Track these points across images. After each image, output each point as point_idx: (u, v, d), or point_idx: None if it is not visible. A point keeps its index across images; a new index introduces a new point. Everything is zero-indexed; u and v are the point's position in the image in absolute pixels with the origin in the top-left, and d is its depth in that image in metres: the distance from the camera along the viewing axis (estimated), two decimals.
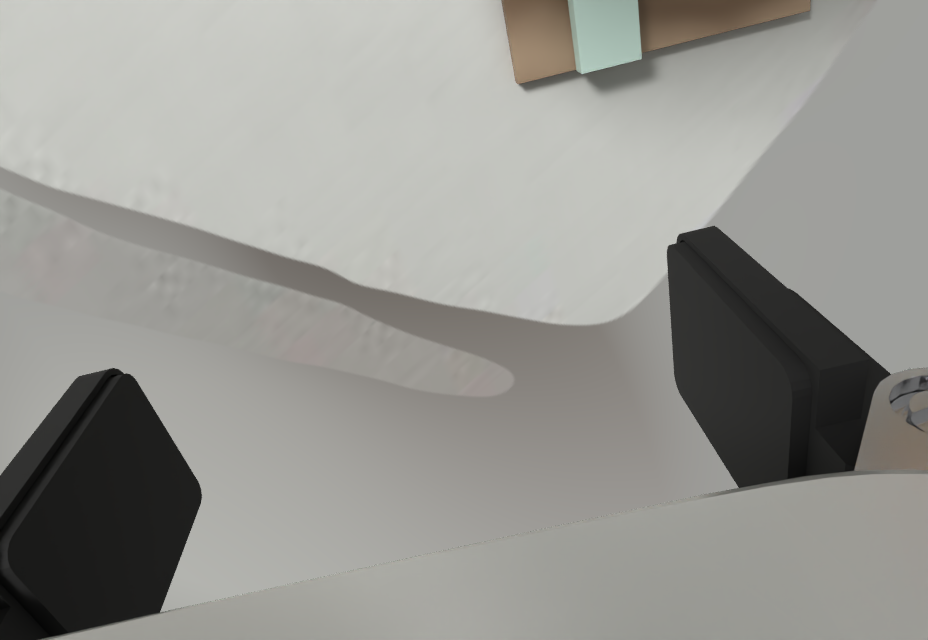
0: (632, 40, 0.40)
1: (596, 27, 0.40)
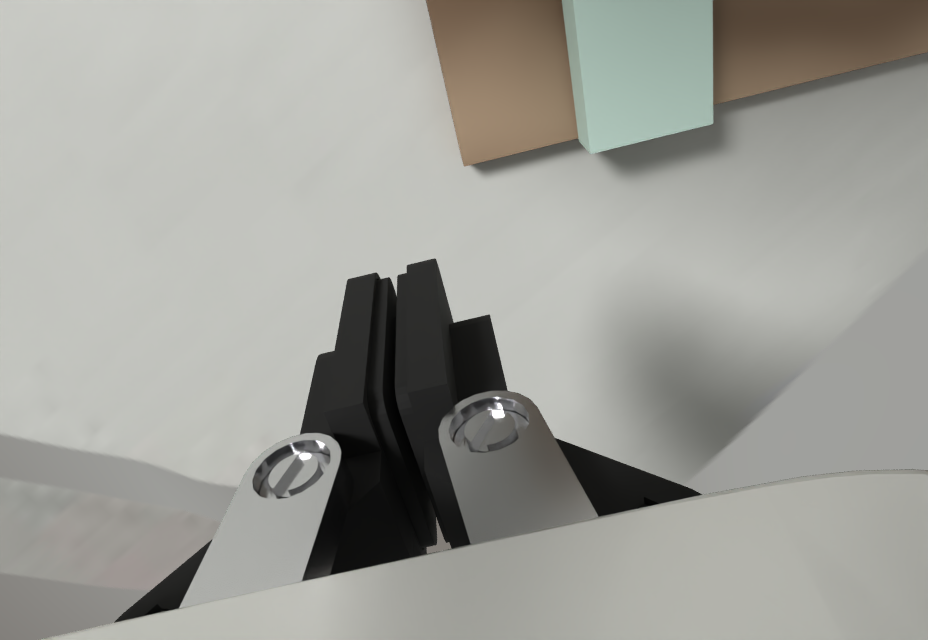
0: (697, 87, 0.19)
1: (623, 62, 0.19)
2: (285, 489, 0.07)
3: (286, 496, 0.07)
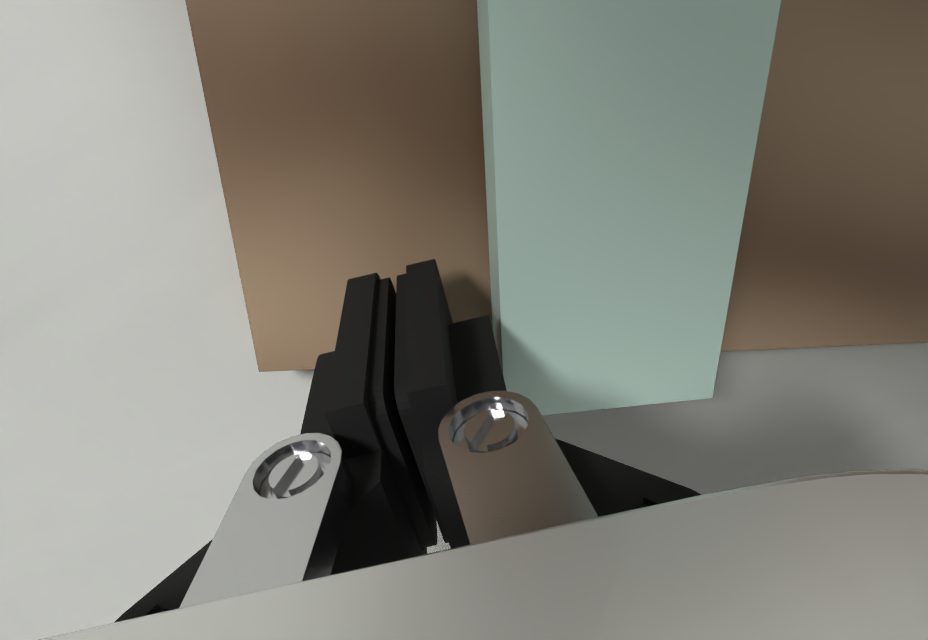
0: (694, 345, 0.11)
1: (575, 294, 0.11)
2: (285, 489, 0.07)
3: (286, 496, 0.07)
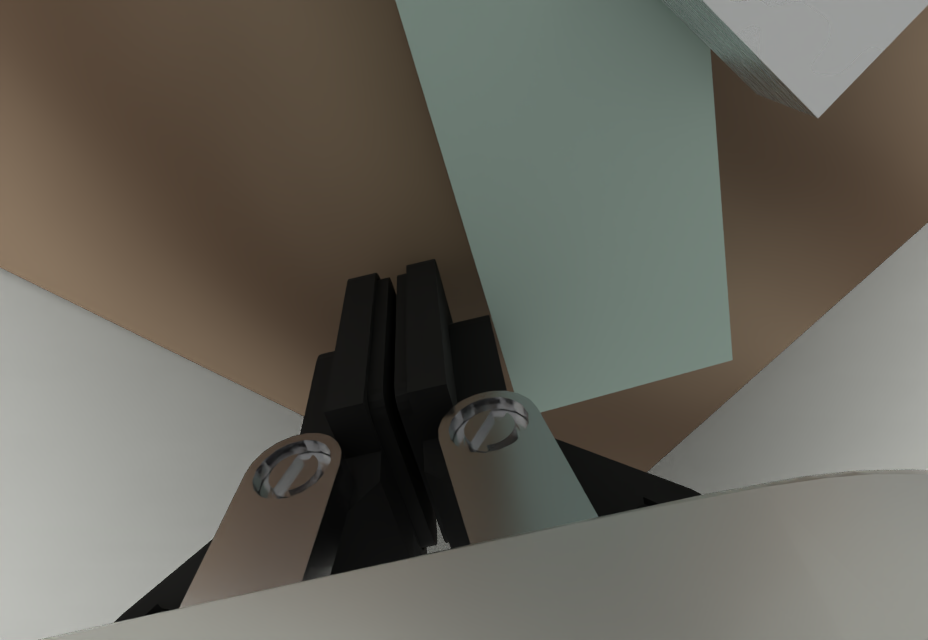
0: (700, 310, 0.11)
1: (562, 283, 0.10)
2: (286, 489, 0.07)
3: (287, 496, 0.07)
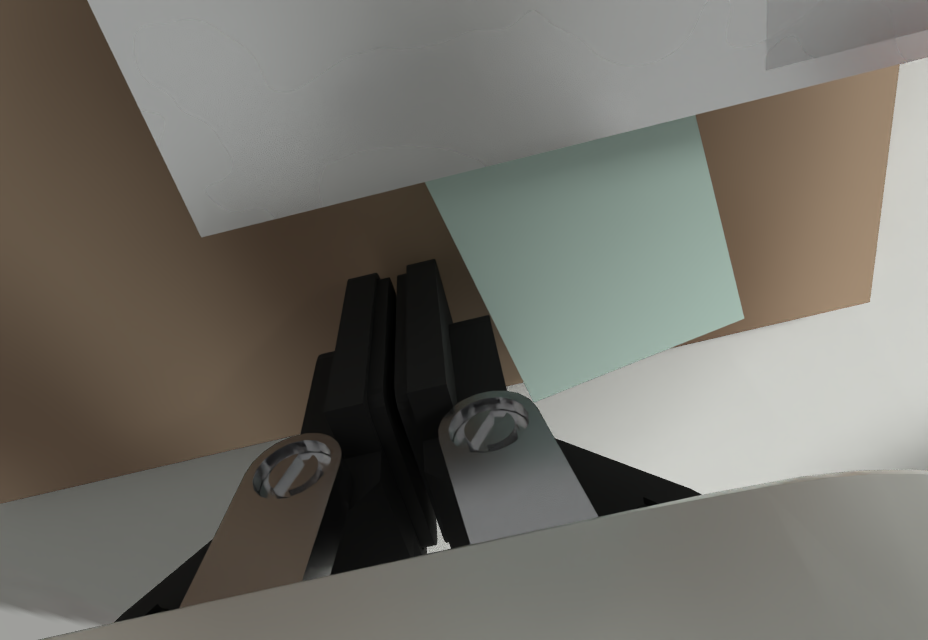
0: (702, 271, 0.10)
1: (552, 262, 0.10)
2: (286, 489, 0.07)
3: (287, 496, 0.07)
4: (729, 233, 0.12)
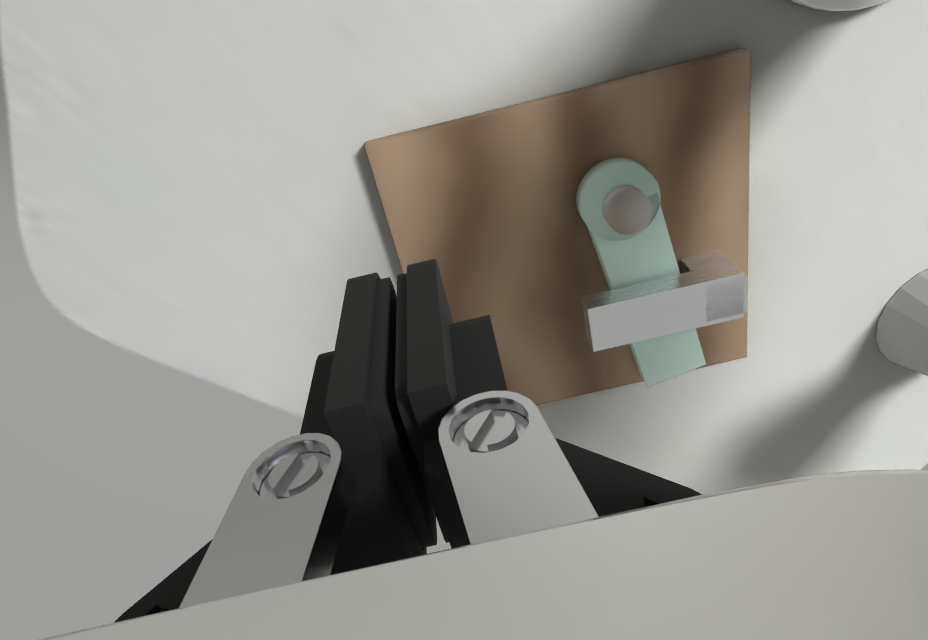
0: (694, 352, 0.40)
1: (656, 350, 0.40)
2: (285, 489, 0.07)
3: (286, 496, 0.07)
4: (703, 338, 0.42)
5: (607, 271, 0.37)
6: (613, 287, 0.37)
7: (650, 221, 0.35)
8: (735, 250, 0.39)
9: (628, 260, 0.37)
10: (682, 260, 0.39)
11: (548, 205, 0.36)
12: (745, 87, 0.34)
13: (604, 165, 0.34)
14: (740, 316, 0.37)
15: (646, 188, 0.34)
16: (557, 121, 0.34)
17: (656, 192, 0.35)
